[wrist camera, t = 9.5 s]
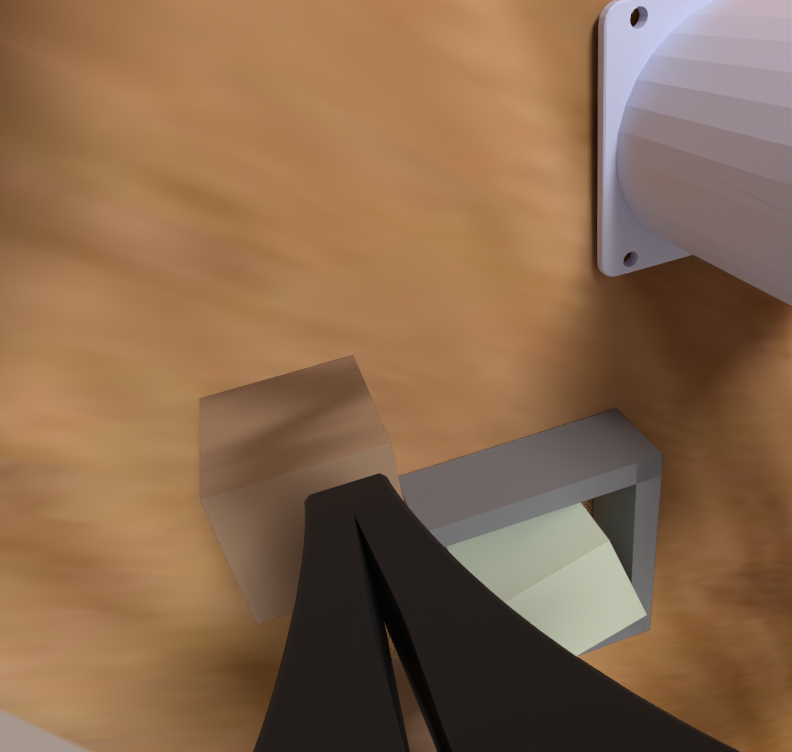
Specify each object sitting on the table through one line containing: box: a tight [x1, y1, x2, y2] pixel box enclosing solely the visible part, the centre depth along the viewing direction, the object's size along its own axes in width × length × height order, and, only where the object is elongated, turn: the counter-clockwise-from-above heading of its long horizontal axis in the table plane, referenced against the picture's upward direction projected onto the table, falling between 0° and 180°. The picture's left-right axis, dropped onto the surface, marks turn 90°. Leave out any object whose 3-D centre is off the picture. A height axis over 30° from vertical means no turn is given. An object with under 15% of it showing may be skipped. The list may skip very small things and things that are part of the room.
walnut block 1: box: [200, 355, 404, 624], centre depth 20 cm, size 5×5×5 cm
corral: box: [398, 409, 663, 656], centre depth 26 cm, size 9×10×3 cm
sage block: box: [447, 502, 647, 656], centre depth 25 cm, size 5×5×5 cm
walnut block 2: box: [392, 659, 437, 752], centre depth 28 cm, size 5×5×5 cm
